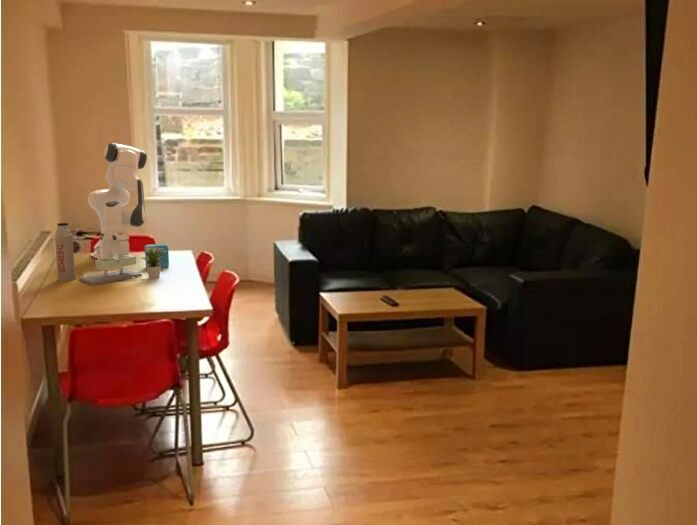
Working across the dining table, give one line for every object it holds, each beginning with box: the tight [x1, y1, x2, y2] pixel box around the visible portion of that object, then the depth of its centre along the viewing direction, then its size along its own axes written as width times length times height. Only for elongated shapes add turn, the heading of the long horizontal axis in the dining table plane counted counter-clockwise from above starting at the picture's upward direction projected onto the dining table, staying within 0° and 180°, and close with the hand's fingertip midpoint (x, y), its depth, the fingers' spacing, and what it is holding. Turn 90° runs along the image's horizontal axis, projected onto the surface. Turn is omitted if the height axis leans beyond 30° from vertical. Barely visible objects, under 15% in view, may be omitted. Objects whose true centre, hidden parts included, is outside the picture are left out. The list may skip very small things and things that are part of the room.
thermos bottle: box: [54, 222, 76, 282], centre depth 350 cm, size 8×8×28 cm
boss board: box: [78, 267, 143, 286], centre depth 355 cm, size 14×26×4 cm, turn 137°
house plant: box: [140, 246, 169, 280], centre depth 354 cm, size 14×14×16 cm
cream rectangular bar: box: [94, 254, 137, 271], centre depth 356 cm, size 18×6×4 cm, turn 137°
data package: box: [144, 243, 170, 269], centre depth 381 cm, size 12×4×12 cm, turn 105°
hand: (116, 262), depth 356 cm, fingers closed on cream rectangular bar, 6 cm apart
